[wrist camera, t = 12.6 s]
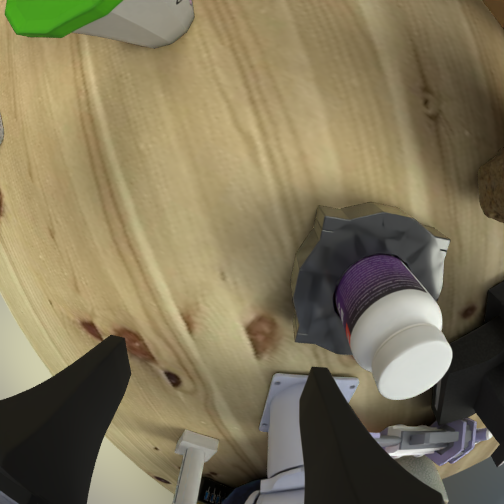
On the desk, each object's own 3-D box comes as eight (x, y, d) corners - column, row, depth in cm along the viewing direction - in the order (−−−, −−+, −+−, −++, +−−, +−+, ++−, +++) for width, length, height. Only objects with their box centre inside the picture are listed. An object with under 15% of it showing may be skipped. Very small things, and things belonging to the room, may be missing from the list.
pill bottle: (313, 283, 20) (338, 389, 11) (365, 225, 19) (433, 306, 10) (363, 319, 21) (402, 418, 12) (412, 269, 20) (479, 354, 11)
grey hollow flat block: (400, 337, 22) (410, 356, 20) (279, 328, 22) (280, 350, 20) (445, 218, 18) (463, 230, 16) (307, 189, 18) (313, 199, 16)
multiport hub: (194, 476, 35) (204, 476, 34) (241, 496, 38) (251, 495, 37) (188, 499, 31) (197, 500, 30) (237, 516, 34) (247, 516, 33)
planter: (339, 477, 33) (345, 535, 23) (396, 439, 29) (413, 507, 19) (392, 478, 35) (402, 527, 25) (445, 442, 30) (463, 495, 20)
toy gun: (508, 407, 25) (468, 417, 31) (388, 398, 21) (337, 407, 28) (505, 452, 21) (464, 458, 27) (376, 476, 17) (325, 469, 23)
